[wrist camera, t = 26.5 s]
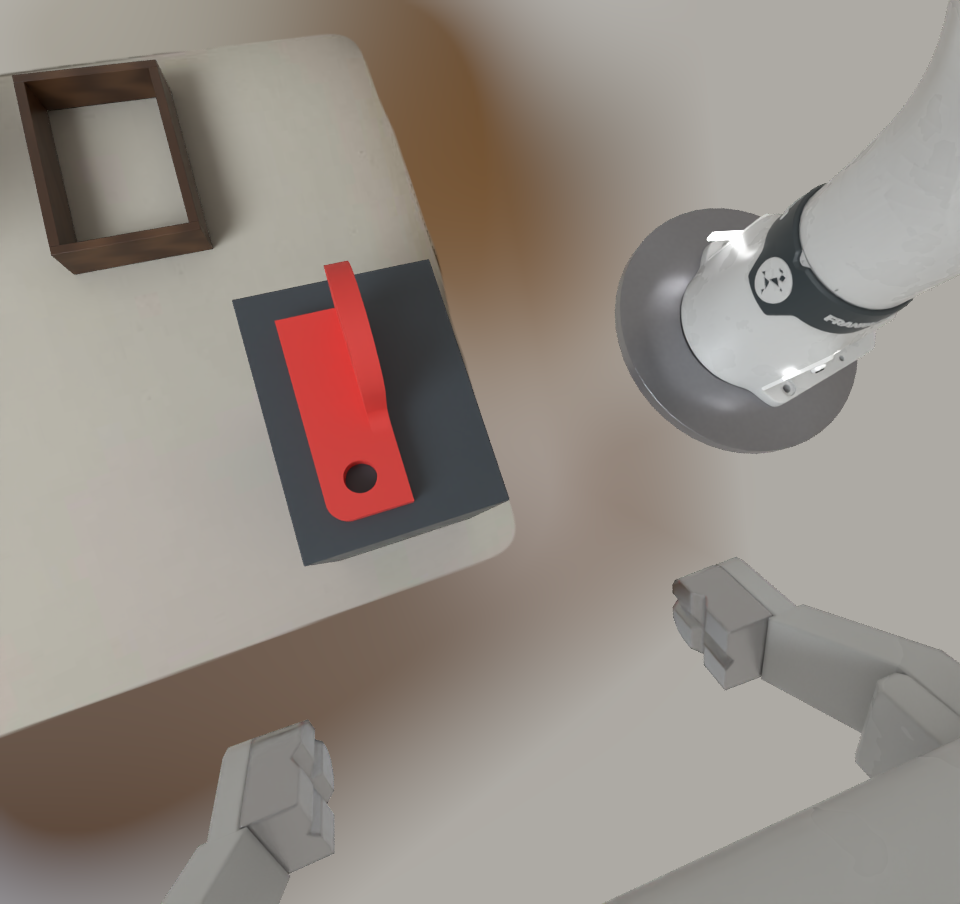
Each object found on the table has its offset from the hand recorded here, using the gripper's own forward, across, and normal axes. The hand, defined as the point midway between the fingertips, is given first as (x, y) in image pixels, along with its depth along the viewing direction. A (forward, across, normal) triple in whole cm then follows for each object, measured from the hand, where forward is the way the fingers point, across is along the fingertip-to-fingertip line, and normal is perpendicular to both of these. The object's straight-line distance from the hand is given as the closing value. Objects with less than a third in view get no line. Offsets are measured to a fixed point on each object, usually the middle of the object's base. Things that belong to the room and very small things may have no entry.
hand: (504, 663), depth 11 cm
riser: (+34, +3, +11) cm, 36 cm away
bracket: (+21, +3, +2) cm, 21 cm away
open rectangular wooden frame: (+52, +18, -14) cm, 57 cm away
